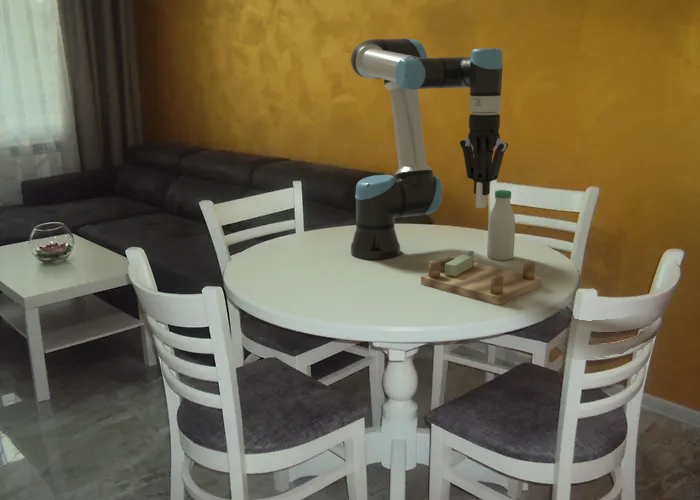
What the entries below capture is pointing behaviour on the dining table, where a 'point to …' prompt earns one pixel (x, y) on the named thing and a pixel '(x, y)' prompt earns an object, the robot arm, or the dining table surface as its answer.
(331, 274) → the dining table surface
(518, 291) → the stool board
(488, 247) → the milk bottle
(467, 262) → the rail
